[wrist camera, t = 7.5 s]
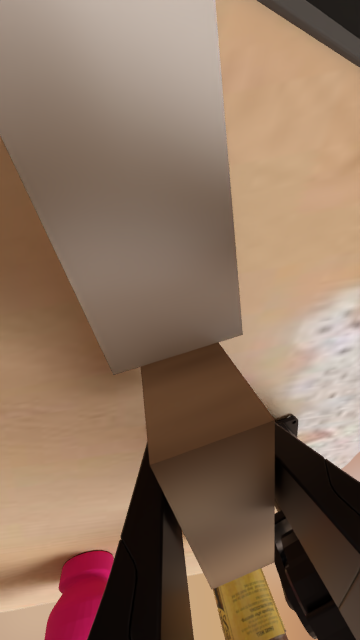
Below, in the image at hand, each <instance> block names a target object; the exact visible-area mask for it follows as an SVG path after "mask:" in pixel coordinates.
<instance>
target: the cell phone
mask: <svg viewBox="0 0 360 640" xmlns="http://www.w3.org/2000/svg"><path fill="white" fill-rule="evenodd" d="M257 1H258V2H260V3H262V4H263V5H265V6H266V7H268V8H269V9H271V10H272V11H274V12H275V13H277V14H278V15H280V16H282V17H283V18H285V19H286V20H288V21H289V22H291V23H292V24H294V25H295V26H297V27H298V28H300V29H301V30H303V31H305V32H306V33H308V34H309V35H311V36H312V37H314V38H315V39H317V40H318V41H320V42H321V43H323V44H324V45H326V46H328V47H329V48H331V49H332V50H334V51H335V52H337V53H338V54H340V55H341V56H343V57H344V58H346V59H347V60H349V61H351V62H352V63H354V64H355V65H357V66H358V67H360V0H257Z"/></svg>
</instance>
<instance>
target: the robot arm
mask: <svg viewBox="0 0 360 640" xmlns="http://www.w3.org/2000/svg"><path fill="white" fill-rule="evenodd" d="M297 430H298V419H297V418H296V417H295V416H291V417H289V418H286V419H283V420H280V421H278V422H275V507H276V509H277V511H278V512H277V513H276V514H274V562H275V565H276V568H277V571H278V573H279V577H280V579H281V584H282V588H283V591H284V595H285V599H286V601H287V603H288V605H289V607H290V608H291V609H292V610H294V611H295V612H296V613H297V615H298V617H299V619H300V621H301V622H302V624H303V626H304V627H305V629H306V630H307V632H308V633H309V635H310V636H311V637H312V638H314V639H316V638H317V639H318V640H360V482H359V481H357V480H356V479H354V478H353V477H351V476H350V475H348V474H347V473H346V472H344V471H342V470H341V469H340V468H338V467H337V466H335V465H334V464H333V463H331V462H330V461H328V460H327V459H324V457H323V456H321V455H320V454H318V453H317V452H316V451H314V450H313V449H311V448H310V447H309V446H307V445H306V444H304V443H303V442H302V441H300V440H299V439H298V438H297ZM87 640H194V637H193V629H192V620H191V610H190V602H189V592H188V583H187V575H186V566H185V557H184V548H183V539H182V530H181V527H180V525H179V523H178V521H177V519H176V517H175V515H174V513H173V511H172V509H171V507H170V505H169V503H168V501H167V499H166V497H165V495H164V493H163V491H162V489H161V487H160V485H159V483H158V481H157V479H156V477H155V475H154V473H153V471H152V469H151V467H150V462H149V451H148V441H147V445H146V448H145V452H144V456H143V459H142V463H141V466H140V470H139V473H138V477H137V480H136V484H135V487H134V491H133V495H132V498H131V502H130V505H129V509H128V512H127V516H126V519H125V523H124V526H123V530H122V534H121V540H120V541H119V544H118V547H117V551H116V554H115V558H114V561H113V565H112V568H111V571H110V574H109V578H108V581H107V584H106V587H105V590H104V593H103V596H102V599H101V602H100V605H99V607H98V610H97V613H96V616H95V619H94V622H93V624H92V627H91V630H90V633H89V635H88V638H87Z"/></svg>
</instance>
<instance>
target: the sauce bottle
mask: <svg viewBox="0 0 360 640" xmlns="http://www.w3.org/2000/svg"><path fill="white" fill-rule="evenodd" d="M213 591H214V595H215V599H216V603H217V607H218V612H219V616H220V620H221V624H222V629H223V633H224V636H225V640H288V639H287V636H286V633H285V632H286V630H285V628H284V625H283V623H282V620H281V617H280V615H279V612H278V610H277V607H276V605H275V602H274V599H273V597H272V594H271V592H270V589H269V587H268V584H267V582H266V579H265V576H264V574H263V571H262V569H261V568H260V569H258V570H256V571H253V572H251V573H249V574H247V575H244V576H242V577H240V578H237V579H235V580H233V581H231V582H228V583H226V584H224V585H221V586H219V587H217V588H214V589H213Z"/></svg>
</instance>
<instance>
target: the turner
mask: <svg viewBox="0 0 360 640" xmlns="http://www.w3.org/2000/svg"><path fill="white" fill-rule="evenodd" d="M0 136H1V138H2V140H3V142H4V144H5V147H6V149H7V151H8V153H9V155H10V157H11V159H12V161H13V163H14V166H15V168H16V170H17V172H18V174H19V176H20V178H21V180H22V183H23V185H24V187H25V189H26V191H27V193H28V195H29V197H30V199H31V202H32V204H33V206H34V208H35V210H36V212H37V214H38V216H39V218H40V221H41V223H42V225H43V227H44V229H45V231H46V233H47V235H48V237H49V240H50V242H51V244H52V246H53V248H54V250H55V252H56V254H57V256H58V259H59V261H60V263H61V265H62V267H63V269H64V271H65V273H66V276H67V278H68V280H69V282H70V284H71V286H72V288H73V290H74V292H75V295H76V297H77V299H78V301H79V303H80V305H81V307H82V309H83V311H84V314H85V316H86V318H87V320H88V322H89V324H90V326H91V328H92V330H93V333H94V335H95V337H96V339H97V341H98V343H99V345H100V347H101V349H102V352H103V354H104V356H105V358H106V360H107V362H108V364H109V366H110V368H111V371H112V373H113V375H115V374H118V373H122V372H125V371H128V370H131V369H134V368H138V367H141V375H142V386H143V397H144V407H145V418H146V429H147V440H148V451H149V462H150V467H151V469H152V471H153V473H154V475H155V477H156V479H157V481H158V483H159V485H160V487H161V489H162V491H163V493H164V495H165V497H166V499H167V501H168V503H169V505H170V507H171V509H172V511H173V513H174V515H175V517H176V519H177V521H178V523H179V525H180V527H181V529H182V531H183V533H184V535H185V537H186V539H187V541H188V543H189V545H190V547H191V549H192V551H193V553H194V555H195V557H196V559H197V561H198V563H199V565H200V567H201V569H202V571H203V573H204V575H205V577H206V579H207V581H208V583H209V585H210V587H211V589H214V588H217V587H219V586H221V585H224V584H226V583H228V582H231V581H233V580H235V579H237V578H240V577H242V576H244V575H247V574H249V573H251V572H253V571H256V570H258V569H260V568H263V567H265V566H267V565H269V564H272V563H274V510H275V420H274V418H273V417H272V415H271V414H270V413H269V411H268V410H267V409H266V407H265V406H264V405H263V403H262V402H261V400H260V399H259V398H258V396H257V395H256V394H255V392H254V391H253V389H252V388H251V387H250V385H249V384H248V383H247V381H246V380H245V378H244V377H243V376H242V374H241V373H240V372H239V370H238V369H237V367H236V366H235V365H234V363H233V362H232V361H231V359H230V358H229V356H228V355H227V354H226V352H225V351H224V350H223V348H222V347H221V345H220V344H219V343H218V342H221V341H224V340H227V339H230V338H234V337H237V336H240V335H243V332H242V320H241V308H240V295H239V283H238V271H237V259H236V247H235V235H234V222H233V210H232V198H231V186H230V174H229V162H228V149H227V137H226V125H225V113H224V101H223V89H222V76H221V64H220V52H219V40H218V28H217V16H216V3H215V0H0Z"/></svg>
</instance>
